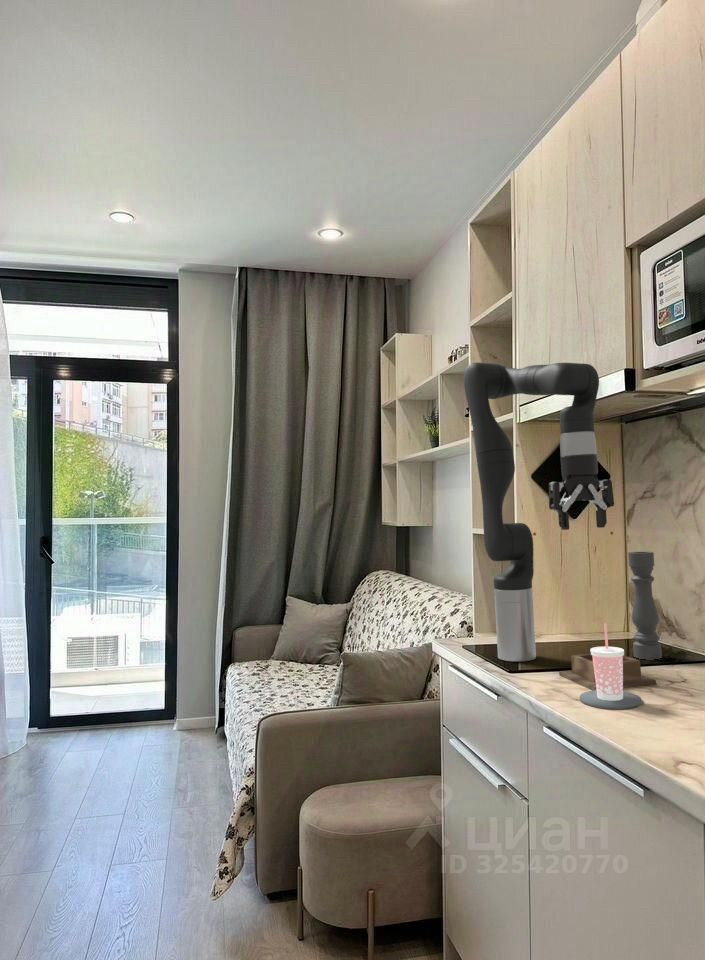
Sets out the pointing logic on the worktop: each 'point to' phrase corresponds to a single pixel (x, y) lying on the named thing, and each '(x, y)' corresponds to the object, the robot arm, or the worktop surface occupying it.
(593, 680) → the stepped square tray
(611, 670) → the beverage cup
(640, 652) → the candle holder
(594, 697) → the slate coaster
